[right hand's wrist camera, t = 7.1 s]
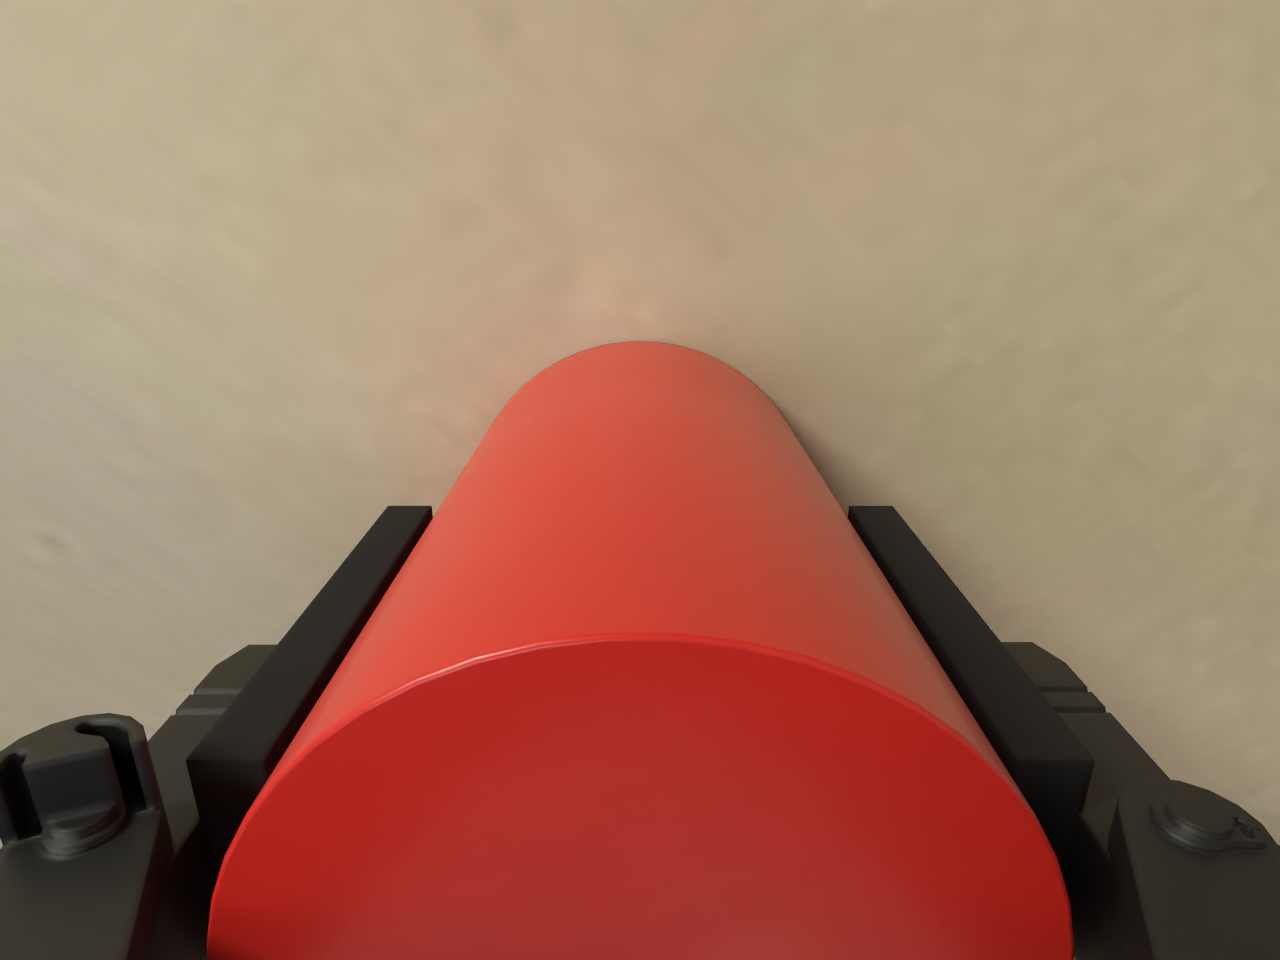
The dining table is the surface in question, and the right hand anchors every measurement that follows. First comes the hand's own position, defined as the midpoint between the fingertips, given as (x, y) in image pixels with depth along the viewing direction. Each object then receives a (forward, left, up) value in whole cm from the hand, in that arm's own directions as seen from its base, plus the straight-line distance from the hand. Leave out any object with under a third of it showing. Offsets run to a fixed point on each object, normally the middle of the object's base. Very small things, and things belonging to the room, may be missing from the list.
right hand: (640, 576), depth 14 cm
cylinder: (0, 0, -3) cm, 3 cm away
